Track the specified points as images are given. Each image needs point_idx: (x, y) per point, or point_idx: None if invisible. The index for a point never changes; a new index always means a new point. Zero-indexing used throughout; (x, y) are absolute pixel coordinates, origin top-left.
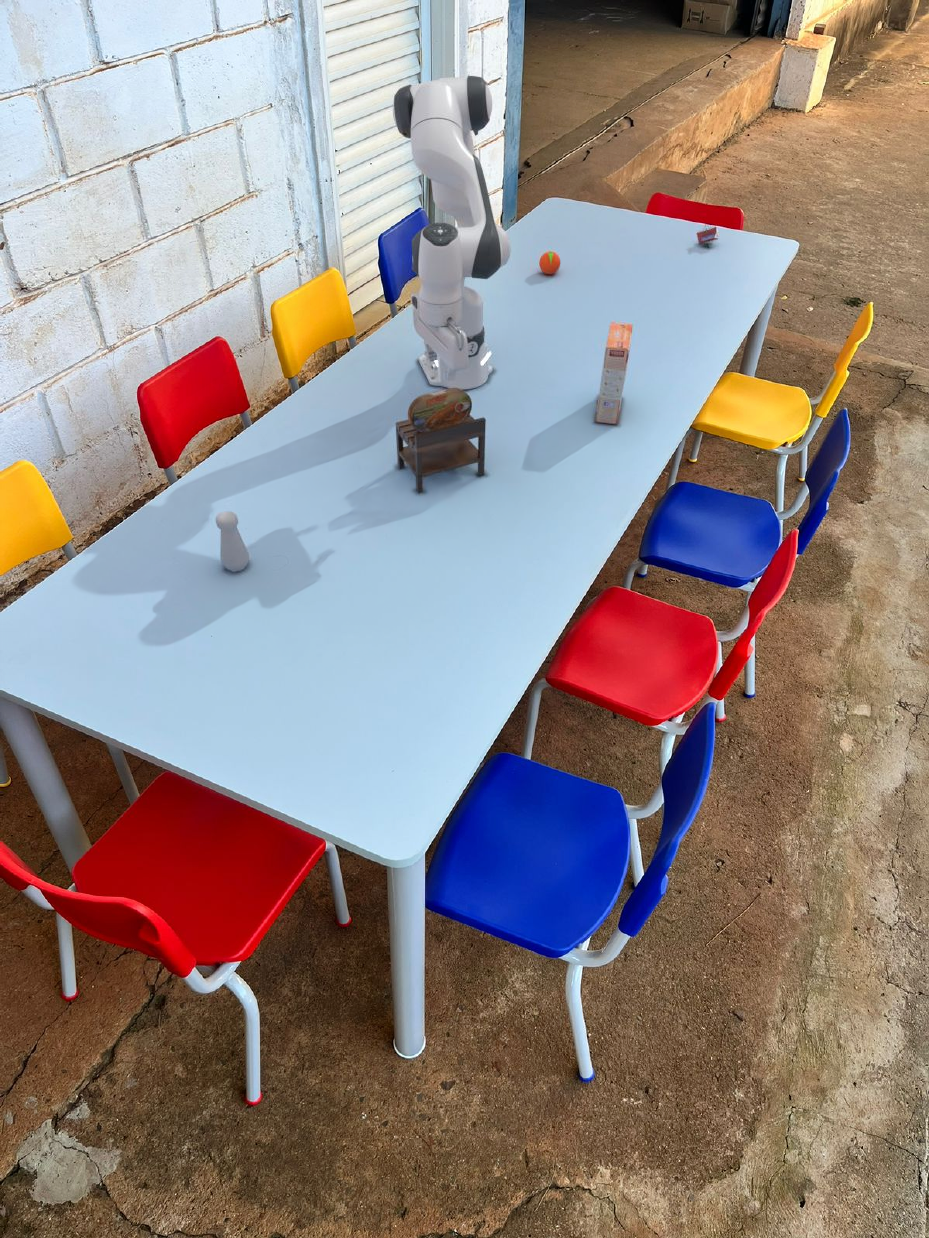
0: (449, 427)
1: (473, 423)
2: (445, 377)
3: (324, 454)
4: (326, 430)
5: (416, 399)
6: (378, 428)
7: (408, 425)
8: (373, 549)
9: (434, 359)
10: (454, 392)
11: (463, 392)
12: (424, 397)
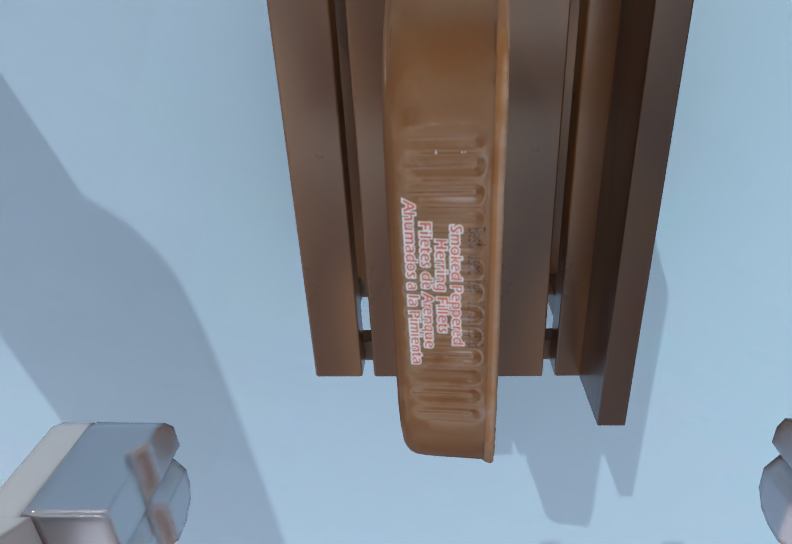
0: (647, 217)
1: (686, 7)
2: (781, 528)
3: (199, 432)
4: (52, 388)
5: (429, 448)
6: (64, 229)
7: (358, 325)
8: (740, 466)
9: (165, 460)
10: (486, 138)
11: (490, 20)
12: (454, 412)
